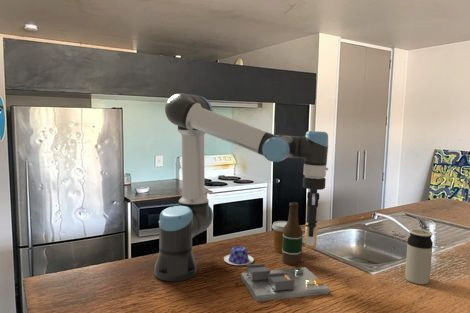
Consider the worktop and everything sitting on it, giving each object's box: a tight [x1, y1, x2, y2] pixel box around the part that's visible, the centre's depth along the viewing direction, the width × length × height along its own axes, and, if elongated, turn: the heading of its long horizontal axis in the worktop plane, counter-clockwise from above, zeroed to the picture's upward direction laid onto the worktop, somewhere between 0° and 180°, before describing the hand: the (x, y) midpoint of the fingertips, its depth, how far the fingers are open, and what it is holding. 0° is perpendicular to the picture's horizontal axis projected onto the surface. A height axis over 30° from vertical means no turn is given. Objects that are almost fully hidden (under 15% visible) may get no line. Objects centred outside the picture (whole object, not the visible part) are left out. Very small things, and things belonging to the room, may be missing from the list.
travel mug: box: [404, 228, 434, 285], centre depth 132 cm, size 8×8×18 cm
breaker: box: [246, 263, 270, 281], centre depth 128 cm, size 6×6×3 cm
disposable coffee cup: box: [271, 220, 288, 254], centre depth 158 cm, size 10×10×12 cm
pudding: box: [223, 245, 255, 266], centre depth 147 cm, size 12×12×5 cm
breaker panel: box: [240, 266, 330, 303], centre depth 126 cm, size 25×17×3 cm
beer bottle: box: [281, 201, 303, 266], centre depth 146 cm, size 8×8×24 cm
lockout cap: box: [303, 222, 318, 250], centre depth 128 cm, size 4×4×8 cm
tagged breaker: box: [268, 272, 294, 291], centre depth 121 cm, size 6×6×3 cm
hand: (310, 242), depth 129 cm, fingers closed on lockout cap, 3 cm apart
